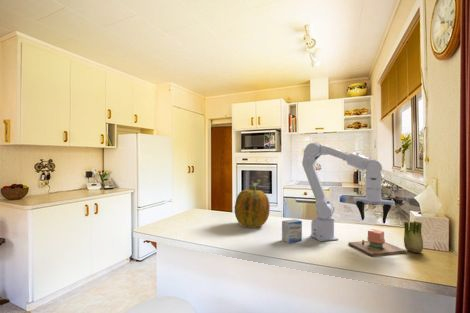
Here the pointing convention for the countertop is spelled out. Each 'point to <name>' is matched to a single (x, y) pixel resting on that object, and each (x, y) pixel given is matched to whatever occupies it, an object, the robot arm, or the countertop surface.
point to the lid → (376, 236)
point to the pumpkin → (252, 207)
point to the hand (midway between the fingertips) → (373, 221)
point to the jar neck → (375, 245)
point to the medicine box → (292, 230)
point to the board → (372, 251)
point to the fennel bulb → (413, 237)
